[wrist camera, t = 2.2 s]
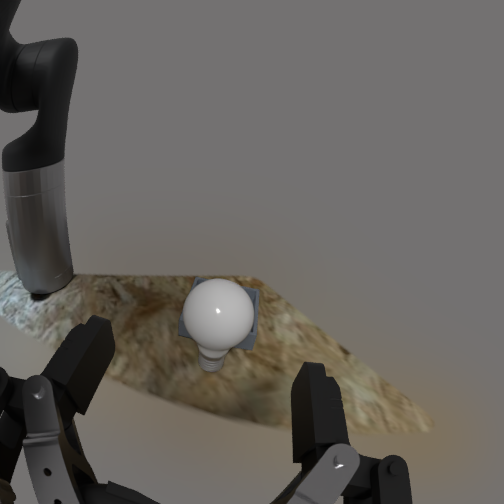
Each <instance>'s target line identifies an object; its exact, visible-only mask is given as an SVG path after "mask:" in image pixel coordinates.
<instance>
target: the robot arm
mask: <svg viewBox="0 0 504 504" xmlns="http://www.w3.org/2000/svg"><path fill="white" fill-rule="evenodd" d="M20 1H21V0H0V109H1V110H2V111H4V112H8V113H18V112H25V111H32V110H39V111H38V116H37V120H36V122H35V124H34V125H33V127H31V128H30V129H29V130H28V131H27V132H26V133H25V134H23V135H22V136H21V137H19V138H17V139H15V140H14V141H12V142H10V143H9V144H7V145H6V146H5V147H4V149H3V152H2V169H3V170H2V171H3V185H4V194H5V202H6V210H7V218H8V220H7V222H6V228H7V233H8V239H9V243H10V248H11V252H12V256H13V260H14V264H15V268H16V271H17V275H18V278H19V279H20V280H22V283H23V286H24V287H25V289H26V290H28V291H29V292H32V293H35V294H47V293H51V292H54V291H57V290H59V289H61V288H62V287H64V286H65V285H66V284H67V283H68V282H69V281H70V280H71V278H72V276H73V265H72V259H71V252H70V244H69V237H68V227H67V217H66V203H65V182H64V181H65V180H64V150H65V138H66V130H67V120H68V111H69V104H70V98H71V94H72V88H73V84H74V79H75V74H76V69H77V62H78V47H77V44H76V42H75V41H74V39H72V38H59V39H52V40H46V41H40V42H35V43H30V44H25V45H24V44H19V43H17V42H16V41H15V40H14V38H13V37H12V35H11V34H10V32H9V28H10V25H11V22H12V20H13V18H14V15H15V13H16V11H17V8H18V6H19V4H20ZM114 352H115V341H114V336H113V332H112V327H111V322H110V320H108V319H105V318H102V317H99V316H96V315H92V316H91V317H90V318H89V320H88V321H87V323H86V324H85V325H84V324H82V323H80V324H79V325H77V326H76V327H74V328H73V329H71V331H70V332H69V334H68V335H67V336H66V338H65V340H64V341H63V342H62V344H61V345H60V347H59V348H58V349H57V351H56V352H55V354H54V355H53V357H52V358H51V360H50V361H49V363H48V364H47V366H46V368H45V369H44V371H43V372H42V373H41V374H40V375H34V376H31V377H29V378H28V379H27V380H24V379H19V378H14V377H10V376H8V374H7V373H6V371H5V370H4V369H3V368H1V367H0V416H1V414H2V412H3V410H4V412H3V414H2V416H1V418H0V504H14V501H15V500H16V495H15V493H14V492H13V489H12V487H11V485H10V483H11V479H12V476H13V472H14V469H15V466H16V463H17V460H18V458H19V455H20V452H21V449H22V446H23V448H24V453H25V458H26V462H27V466H28V470H29V474H30V477H31V481H32V484H33V488H34V491H35V494H36V497H37V500H38V503H39V504H160V503H158V502H156V501H154V500H152V499H150V498H148V497H146V496H144V495H143V494H141V493H139V492H137V491H135V490H132V489H129V488H127V487H124V486H121V485H118V484H116V483H113V482H111V481H108V484H100V483H98V482H97V479H96V477H95V474H94V472H93V470H92V468H91V466H90V464H89V463H88V461H87V459H86V457H85V455H84V452H83V449H82V446H81V442H80V439H79V436H78V432H77V429H76V425H75V421H74V418H73V417H74V415H75V413H76V412H78V413H80V414H82V415H85V413H86V411H87V408H88V406H89V404H90V402H91V400H92V398H93V396H94V394H95V392H96V390H97V388H98V385H99V383H100V382H101V380H102V378H103V376H104V374H105V372H106V370H107V368H108V366H109V364H110V362H111V360H112V358H113V356H114ZM341 398H342V397H341V392H340V387H339V385H338V384H337V382H336V381H335V379H334V378H333V377H326V372H325V367H324V364H322V363H313V362H304V363H303V365H302V367H301V369H300V371H299V373H298V375H297V376H296V378H295V380H294V382H293V385H292V389H291V412H292V442H293V463H301V464H302V470H301V471H300V472H299V473H298V475H297V476H296V477H295V478H294V479H293V480H292V481H291V482H290V484H289V485H288V486H287V487H286V488H285V489H284V490H283V491H282V492H281V493H280V494H279V495H278V497H276V499H275V500H274V501H272V502H271V503H270V504H334V503H335V501H336V500H337V499H338V497H339V496H343V499H344V500H343V504H412V496H411V487H410V479H409V473H408V467H407V464H406V462H405V460H404V459H403V458H401V457H400V456H397V455H389V456H387V457H385V458H384V459H382V460H381V459H376V458H371V457H367V456H363V455H360V454H358V453H357V451H356V450H355V449H354V448H353V447H351V445H350V443H349V439H348V432H347V426H346V420H345V414H344V409H343V403H342V400H341ZM26 436H27V437H26Z"/></svg>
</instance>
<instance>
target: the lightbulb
mask: <svg viewBox="0 0 504 504" xmlns="http://www.w3.org/2000/svg"><path fill="white" fill-rule="evenodd" d="M183 321H184V325H185V327H186V330H187V331H188V333H189V335H190V336H191V337H192V338H193V339H194V340H195V341H196V342H197V346H198V349H199V359H198V363H199V365H200V367H201V368H202V369H203V370H205V371H208V372H216V371H218V370H220V369H221V368H222V366H223V363H224V358H225V354H227V352H228V351H229V349H230V348H232V347H234V346H236V345H238V344H239V343H241V342H242V341H243V340H244V339H245V338H246V337H247V336H248V334H249V332H250V331H251V329H252V326H253V322H254V307H253V303H252V301H251V299H250V297H249V295H248V294H247V292H246V291H245V290H244V289H243V288H242V287H241V286H239V285H238V284H236V283H234V282H232V281H229V280H226V279H210V280H207V281H204V282H202V283H200V284H198V285H197V286H196V287H195V288H193V289H192V291H191V292H190V293H189V294H188V296H187V298H186V300H185V303H184V307H183Z"/></svg>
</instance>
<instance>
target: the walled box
mask: <svg viewBox="0 0 504 504" xmlns="http://www.w3.org/2000/svg"><path fill="white" fill-rule="evenodd" d="M207 280H208V279H204V278H199V277H196V278H195V281H194V283H193V286H192V288H191V291H192V289H193V288H195V287H196V286H197V285H198V284H200V283H202V282H204V281H207ZM241 287H242V288H243V289H244V290H245V291H246V292H247V294H248V295H249V297H250V299H251V301H252V303H253V307H254V322H253V326H252V329H251V331H250V332H249V334H248V336H247V337H246V338H245V339H244V340H243V341H242V342H241V343H239V344H238V345H236V346H234V347H236V348H241V349H247V350H252V349H253V346H254V342H255V339H256V336H257V321H258V304H259V290H258V289H253V288H248V287H243V286H241ZM191 291H190V292H191ZM179 336H184V337H188V338H192V337H191V336H190V335H189V333H188V331H187V330H186V327H185V325H184V321H183V311H182V313H181V316H180V318H179ZM192 339H193V338H192Z"/></svg>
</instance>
